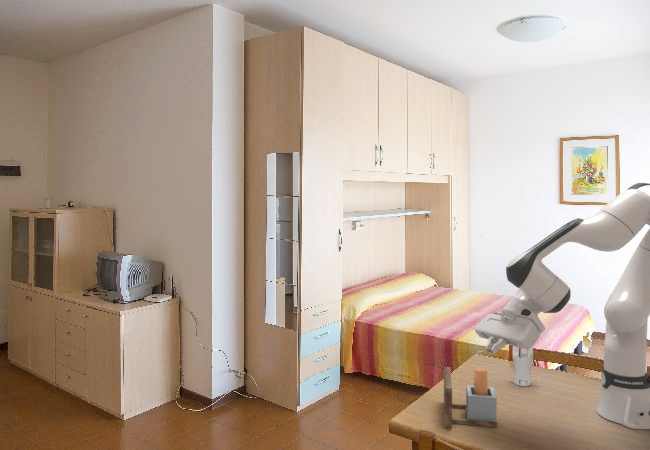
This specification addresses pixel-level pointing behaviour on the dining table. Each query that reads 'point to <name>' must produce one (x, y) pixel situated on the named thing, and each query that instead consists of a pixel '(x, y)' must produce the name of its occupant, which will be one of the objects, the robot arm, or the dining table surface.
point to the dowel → (480, 382)
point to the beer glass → (522, 365)
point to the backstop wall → (456, 406)
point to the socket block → (481, 405)
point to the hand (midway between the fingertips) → (489, 351)
